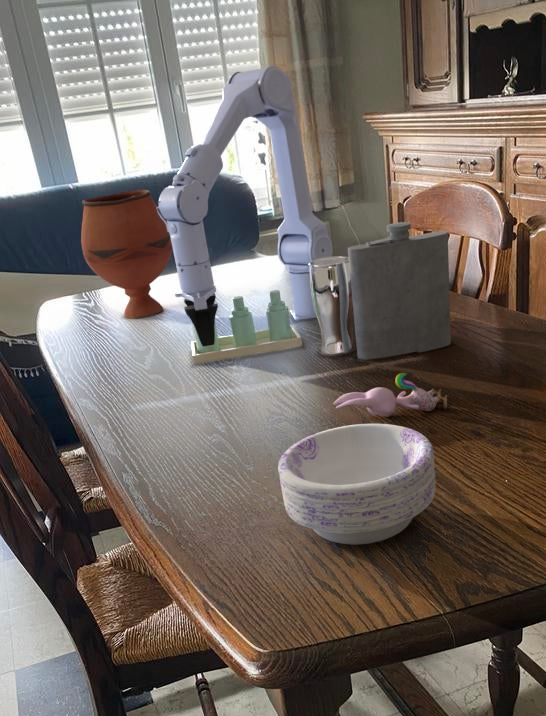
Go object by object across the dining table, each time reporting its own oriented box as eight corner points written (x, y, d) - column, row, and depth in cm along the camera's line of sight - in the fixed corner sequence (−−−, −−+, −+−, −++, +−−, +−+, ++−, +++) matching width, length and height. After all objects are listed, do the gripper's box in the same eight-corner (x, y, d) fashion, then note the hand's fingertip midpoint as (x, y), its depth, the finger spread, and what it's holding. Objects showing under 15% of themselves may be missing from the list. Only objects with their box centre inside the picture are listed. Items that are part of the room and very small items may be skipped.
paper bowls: (285, 497, 83) (275, 431, 79) (421, 478, 83) (417, 412, 79) (290, 572, 70) (278, 498, 66) (452, 551, 70) (450, 475, 66)
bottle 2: (290, 337, 136) (284, 287, 132) (294, 343, 133) (287, 292, 129) (269, 340, 136) (261, 290, 132) (271, 346, 133) (264, 295, 128)
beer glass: (330, 361, 123) (320, 267, 115) (311, 352, 128) (300, 262, 121) (366, 351, 125) (359, 258, 118) (345, 342, 131) (337, 254, 123)
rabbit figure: (433, 407, 104) (328, 410, 101) (438, 365, 101) (331, 367, 98) (449, 423, 98) (339, 426, 96) (455, 379, 96) (342, 381, 93)
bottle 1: (255, 342, 136) (248, 293, 132) (258, 349, 132) (250, 298, 128) (234, 346, 136) (225, 296, 131) (235, 352, 132) (227, 301, 128)
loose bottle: (220, 349, 135) (211, 299, 131) (221, 355, 132) (212, 304, 128) (198, 352, 135) (188, 302, 131) (199, 359, 132) (189, 308, 127)
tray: (295, 334, 139) (293, 324, 138) (302, 348, 131) (301, 337, 130) (192, 351, 138) (190, 341, 137) (194, 366, 129) (191, 355, 129)
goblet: (83, 326, 165) (51, 206, 153) (131, 302, 180) (105, 191, 168) (156, 325, 158) (128, 199, 146) (200, 300, 173) (178, 184, 161)
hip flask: (446, 339, 125) (442, 213, 115) (455, 346, 122) (452, 216, 112) (355, 357, 123) (343, 230, 113) (362, 364, 119) (351, 233, 110)
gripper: (169, 258, 132) (184, 334, 138) (169, 274, 119) (186, 356, 126) (208, 252, 132) (222, 327, 139) (212, 267, 120) (227, 349, 126)
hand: (207, 341), depth 132 cm, fingers open, 5 cm apart
